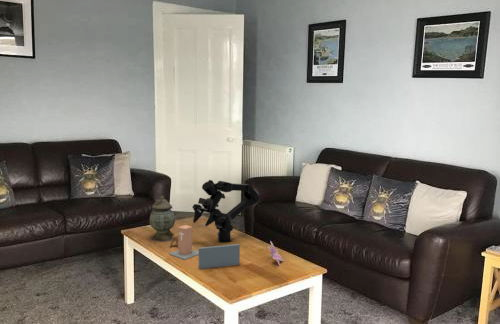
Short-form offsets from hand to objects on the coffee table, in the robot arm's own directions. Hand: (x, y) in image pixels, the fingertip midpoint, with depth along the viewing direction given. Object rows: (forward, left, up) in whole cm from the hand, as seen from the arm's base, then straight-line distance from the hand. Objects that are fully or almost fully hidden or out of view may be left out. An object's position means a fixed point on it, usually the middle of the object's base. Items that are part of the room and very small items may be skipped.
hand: (199, 224), depth 244 cm
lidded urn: (+17, -24, -14) cm, 32 cm away
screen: (-4, +27, -14) cm, 31 cm away
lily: (-32, +30, -14) cm, 46 cm away
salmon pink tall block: (+9, +6, -13) cm, 17 cm away
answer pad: (+9, +6, -14) cm, 17 cm away
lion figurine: (+8, -9, -14) cm, 19 cm away
